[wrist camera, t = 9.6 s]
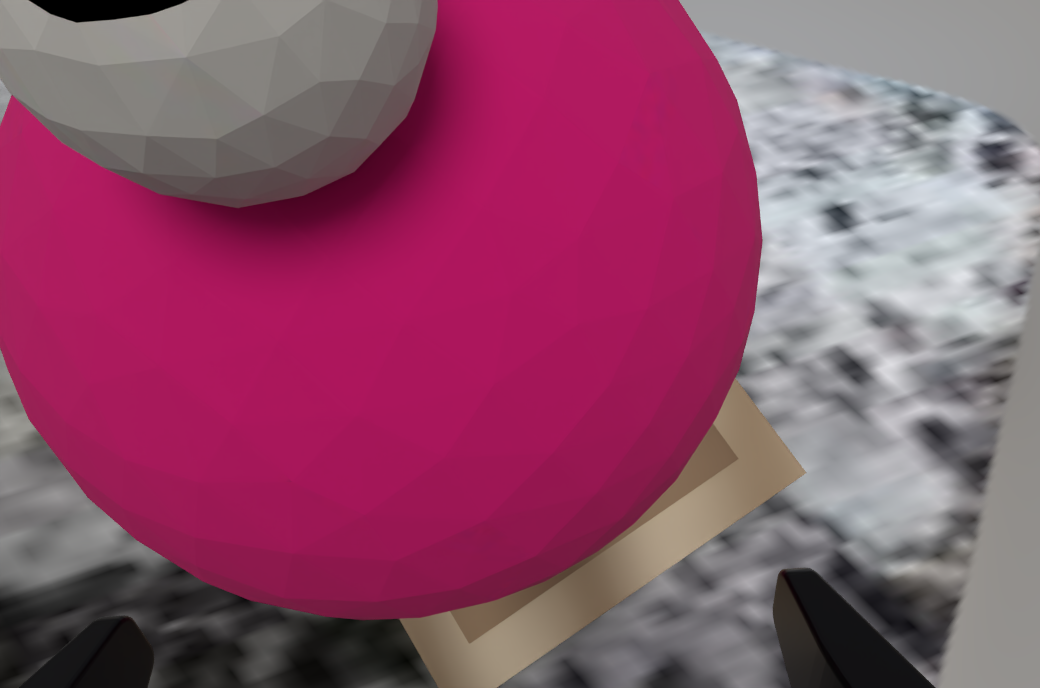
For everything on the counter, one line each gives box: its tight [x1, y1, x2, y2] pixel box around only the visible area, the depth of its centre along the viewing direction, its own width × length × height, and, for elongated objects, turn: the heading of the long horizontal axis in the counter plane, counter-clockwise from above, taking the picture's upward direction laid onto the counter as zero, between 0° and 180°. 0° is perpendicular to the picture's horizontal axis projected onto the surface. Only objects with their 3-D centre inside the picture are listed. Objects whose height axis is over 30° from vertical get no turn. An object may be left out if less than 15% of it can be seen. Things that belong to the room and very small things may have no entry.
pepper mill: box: [0, 0, 762, 620], centre depth 12 cm, size 7×7×20 cm
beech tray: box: [400, 379, 806, 688], centre depth 22 cm, size 13×13×1 cm
